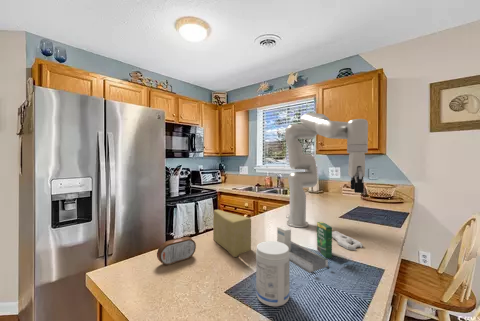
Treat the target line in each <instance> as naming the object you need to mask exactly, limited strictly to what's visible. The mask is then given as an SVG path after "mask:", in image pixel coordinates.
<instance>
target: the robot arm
mask: <svg viewBox="0 0 480 321" xmlns="http://www.w3.org/2000/svg"><path fill="white" fill-rule="evenodd" d="M317 135H319V136H322V137H325V138H327V139H337V140H346V142H347V143H346V145H347V146H346V153H347V154H349V155H348V156H349V157H348V170H347V172H348V173H347V174H348V176H349V177H350V190H354V193H355V194H364V192H365V190H364V189H365V185H364V184H365V182H364V181H365V180H364V178H365V177H366V154H368V152H369V151H368V150H369V147H368V146H369V144H368V142H369V137H368V136H369V122H368V120H367V119H364V118H355V119H350V120H348V121H338V120H330V118H329V117H328V116H327V115H325V114H324V113H317V112H316V113H315V112H307V113H305V114H303V115H302V116H301V119H300V123H293V124H290V125H288V126H287V127H286V129H285V132H284V139H285V142H286V146H287V152H288V163H289V167H290V169H292V170H295V171H294V172H291V173H290V174H289V175H288V178H287V183H288V188H289V213H288V214H287V215H286V219H288V220H287V221H286V224H287V226H290V227H293V228H307V227H309V222H308V221H307V194H306V192H305V190H304V189H305V188H314V187H316V185H317V184H318V173H317V172H318V170H317V162H316V159H315V157H314V156H313V155H312V154H308V153H304V152H303V145H302V143H301V142H300V141H299V140H298V139H304V140H312V139H313V138H315V137H316V136H317ZM296 170H299V171H296ZM302 170H304V171H302Z"/></svg>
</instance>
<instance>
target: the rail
mask: <svg viewBox="0 0 480 321" xmlns="http://www.w3.org/2000/svg"><path fill="white" fill-rule="evenodd" d="M289 262H290V263H292V264H294V265H295V266H297V267H299V268H300V269H302V270H304V271H306V272H307V273H309V275H308V276H309V277H310V276H312V275H314V274H317V273H321V272H323V271H327V270H328V269H330V268H329V264H328V263H329V258H325V257H324V256H323V255H320V254H318V253H316V252H313V251H312V250H309V249H308V248H305V247H304V246H301V245H300V244H297V243H296V242H294V241H292V240H291V251H289ZM322 269H323V270H322ZM318 270H319V271H318ZM310 273H312V274H310Z"/></svg>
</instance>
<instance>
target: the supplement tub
mask: <svg viewBox="0 0 480 321" xmlns="http://www.w3.org/2000/svg"><path fill="white" fill-rule="evenodd" d="M255 264H256V266H255V268H256V269H255V274H256V276H255V278H256V282H255V284H256V286H255V287H256V291H255V292H256V298H257V299H258V301H260V303H262V304H264V305H266V306H269V307H281V306H283V305H285V304H286V303H288V301H289V299H290V261H289V248H288V246H287V245H285V244H284V243H281V242H277V240H267V241H262V242H259V243H258V244H257V245H256V250H255Z"/></svg>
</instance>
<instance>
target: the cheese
mask: <svg viewBox="0 0 480 321" xmlns="http://www.w3.org/2000/svg"><path fill="white" fill-rule="evenodd" d="M212 222H213V223H212V225H213V226H212V227H213V230H212V231H213V233H212V234H213V235H212V239H213V241H214V242H215V243H217V244H218V245H220V246H221V247H222V248H223V249H225V250H226V252H228V253H229V254H230V255H231V256H232V258H238V257H239V255H241V254H244V253H246V252H249V251H252V250H251V249H252V218H251V217H247V216H243V215H241V214H236V213H231V212H227V211H223V210H222V209H214V210H213V218H212Z"/></svg>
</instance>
